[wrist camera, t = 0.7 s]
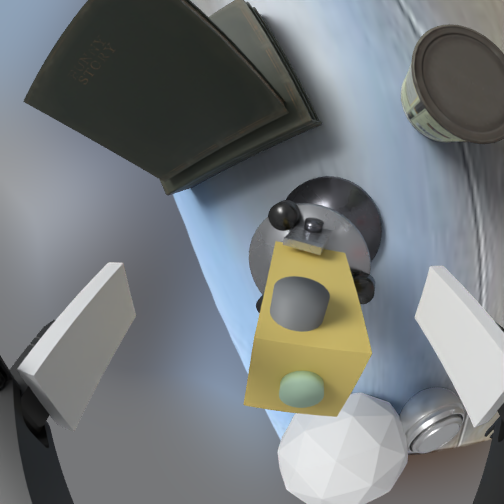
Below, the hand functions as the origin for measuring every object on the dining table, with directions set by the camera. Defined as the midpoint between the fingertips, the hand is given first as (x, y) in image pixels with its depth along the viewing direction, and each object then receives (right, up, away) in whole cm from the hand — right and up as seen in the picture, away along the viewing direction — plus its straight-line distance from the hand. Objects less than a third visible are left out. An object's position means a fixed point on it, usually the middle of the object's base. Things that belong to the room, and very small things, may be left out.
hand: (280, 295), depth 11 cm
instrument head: (+4, 0, +15) cm, 15 cm away
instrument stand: (+9, +5, +27) cm, 29 cm away
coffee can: (+22, +20, +14) cm, 33 cm away
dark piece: (-5, +24, +26) cm, 36 cm away
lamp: (+23, -27, +34) cm, 49 cm away
